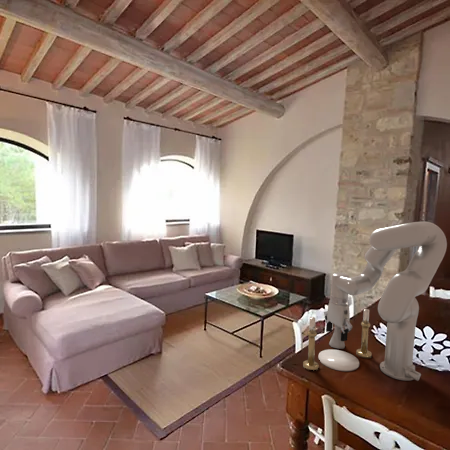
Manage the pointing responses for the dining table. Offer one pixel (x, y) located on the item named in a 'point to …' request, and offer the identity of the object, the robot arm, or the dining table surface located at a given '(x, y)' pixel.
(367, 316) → the far candlestick
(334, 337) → the flask
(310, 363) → the near candlestick
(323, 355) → the cream plate
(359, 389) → the dining table surface
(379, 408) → the dining table surface
